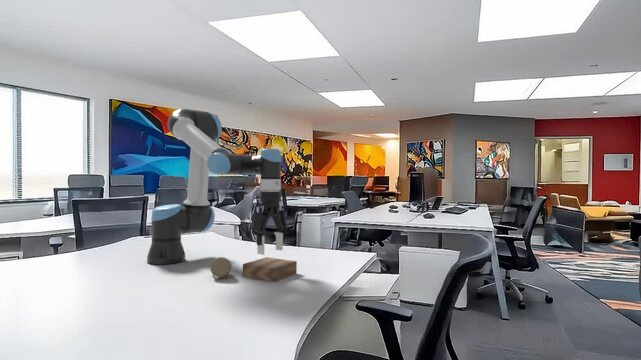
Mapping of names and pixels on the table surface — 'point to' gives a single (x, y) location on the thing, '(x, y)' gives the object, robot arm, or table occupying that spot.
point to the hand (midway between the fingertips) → (270, 251)
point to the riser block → (269, 269)
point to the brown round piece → (220, 267)
